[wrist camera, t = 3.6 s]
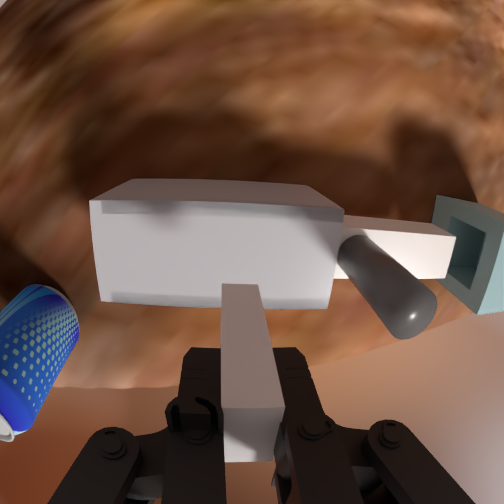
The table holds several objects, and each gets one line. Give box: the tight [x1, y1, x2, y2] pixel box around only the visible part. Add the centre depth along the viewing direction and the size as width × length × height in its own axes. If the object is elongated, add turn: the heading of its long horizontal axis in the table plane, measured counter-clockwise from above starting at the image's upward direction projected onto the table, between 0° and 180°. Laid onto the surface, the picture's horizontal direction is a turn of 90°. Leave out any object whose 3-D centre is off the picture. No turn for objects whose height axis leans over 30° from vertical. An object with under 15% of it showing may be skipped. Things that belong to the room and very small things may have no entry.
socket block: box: [431, 195, 504, 315], centre depth 23 cm, size 8×7×10 cm
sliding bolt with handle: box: [334, 215, 456, 339], centre depth 18 cm, size 4×24×11 cm, turn 86°
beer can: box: [0, 285, 80, 442], centre depth 20 cm, size 8×8×16 cm
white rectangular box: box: [89, 179, 345, 309], centre depth 22 cm, size 7×15×9 cm, turn 86°
